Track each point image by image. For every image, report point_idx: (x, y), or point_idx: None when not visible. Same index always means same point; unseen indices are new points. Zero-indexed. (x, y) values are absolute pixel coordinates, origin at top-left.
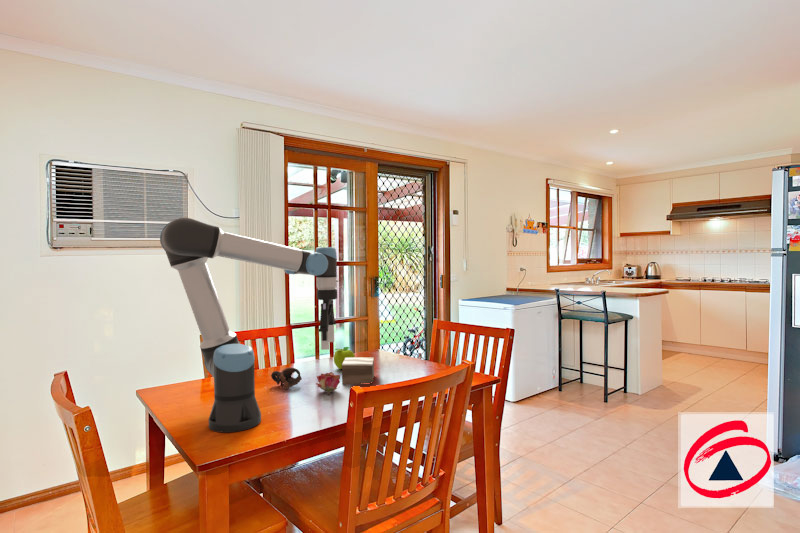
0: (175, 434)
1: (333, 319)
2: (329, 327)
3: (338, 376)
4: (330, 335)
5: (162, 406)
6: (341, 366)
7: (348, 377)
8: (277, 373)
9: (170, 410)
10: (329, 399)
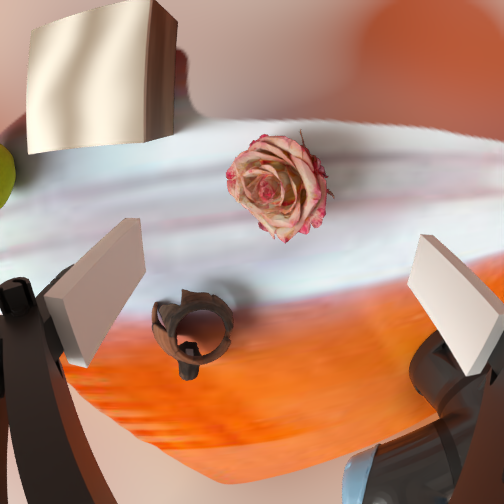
0: None
1: (4, 346)
2: (89, 327)
3: (280, 143)
4: (121, 272)
5: (316, 459)
6: (14, 175)
7: (164, 110)
8: (194, 368)
9: (341, 448)
10: (355, 167)
